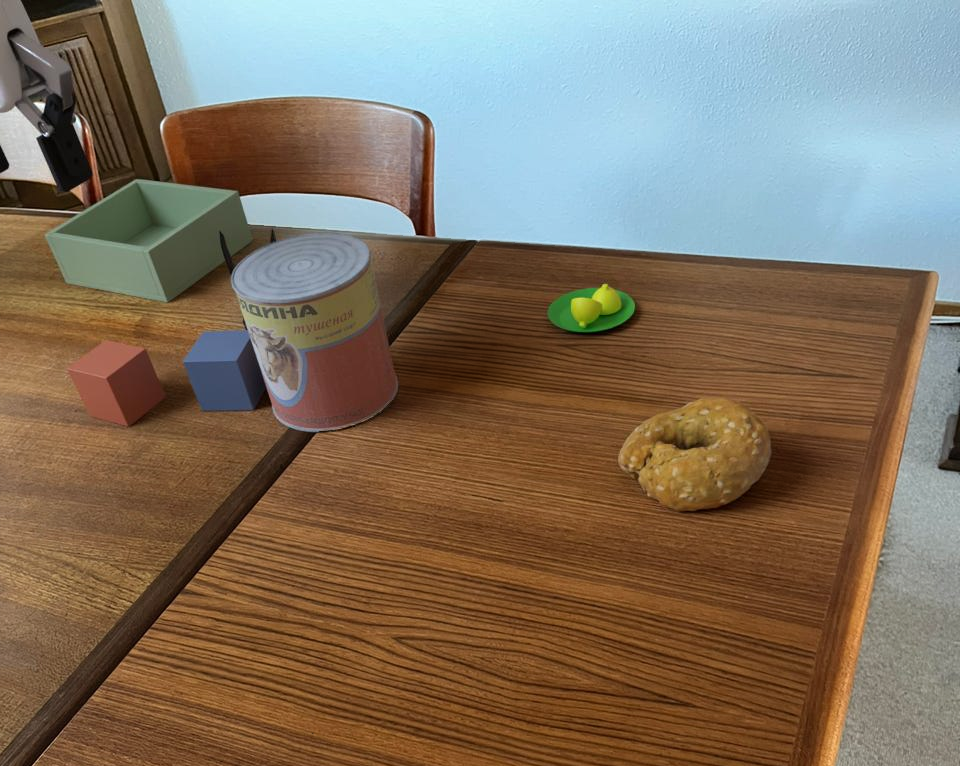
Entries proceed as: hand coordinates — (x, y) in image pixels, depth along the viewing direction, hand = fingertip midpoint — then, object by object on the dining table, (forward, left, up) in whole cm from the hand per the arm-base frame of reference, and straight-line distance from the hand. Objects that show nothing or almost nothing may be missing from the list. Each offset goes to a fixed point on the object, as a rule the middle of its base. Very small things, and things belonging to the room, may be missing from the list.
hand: (34, 179), depth 77 cm
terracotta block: (+2, -2, -19) cm, 19 cm away
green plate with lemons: (+36, +25, -20) cm, 48 cm away
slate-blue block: (+11, +3, -19) cm, 22 cm away
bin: (-16, +22, -19) cm, 33 cm away
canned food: (+20, +6, -20) cm, 29 cm away
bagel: (+53, +6, -20) cm, 57 cm away
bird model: (+5, +15, -20) cm, 25 cm away
